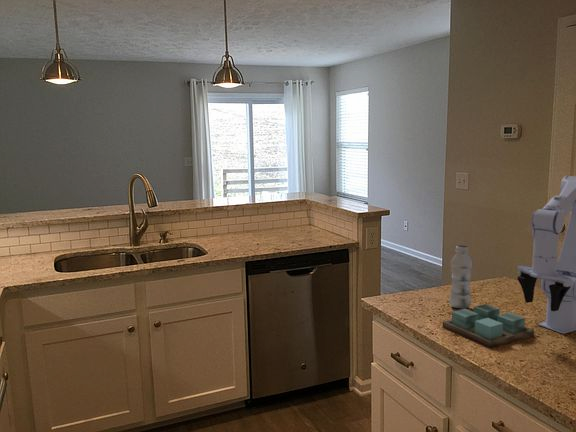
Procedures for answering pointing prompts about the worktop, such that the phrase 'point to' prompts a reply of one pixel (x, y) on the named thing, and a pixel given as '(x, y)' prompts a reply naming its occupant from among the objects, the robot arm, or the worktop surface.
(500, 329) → the teal block
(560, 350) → the worktop surface
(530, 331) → the puzzle tray
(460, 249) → the plastic bottle
